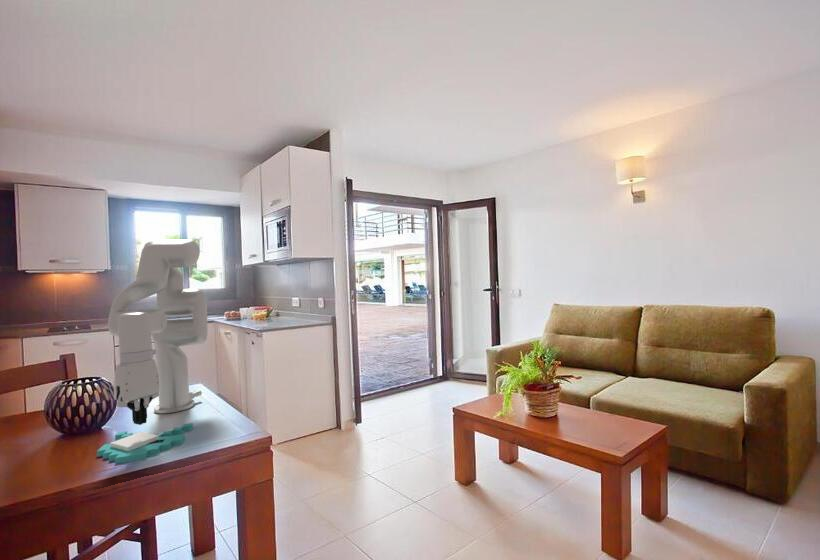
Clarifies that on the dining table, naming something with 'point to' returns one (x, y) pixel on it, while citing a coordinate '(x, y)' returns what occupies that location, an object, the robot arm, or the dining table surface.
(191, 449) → the dining table surface
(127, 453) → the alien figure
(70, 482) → the dining table surface
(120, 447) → the tile
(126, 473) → the dining table surface
